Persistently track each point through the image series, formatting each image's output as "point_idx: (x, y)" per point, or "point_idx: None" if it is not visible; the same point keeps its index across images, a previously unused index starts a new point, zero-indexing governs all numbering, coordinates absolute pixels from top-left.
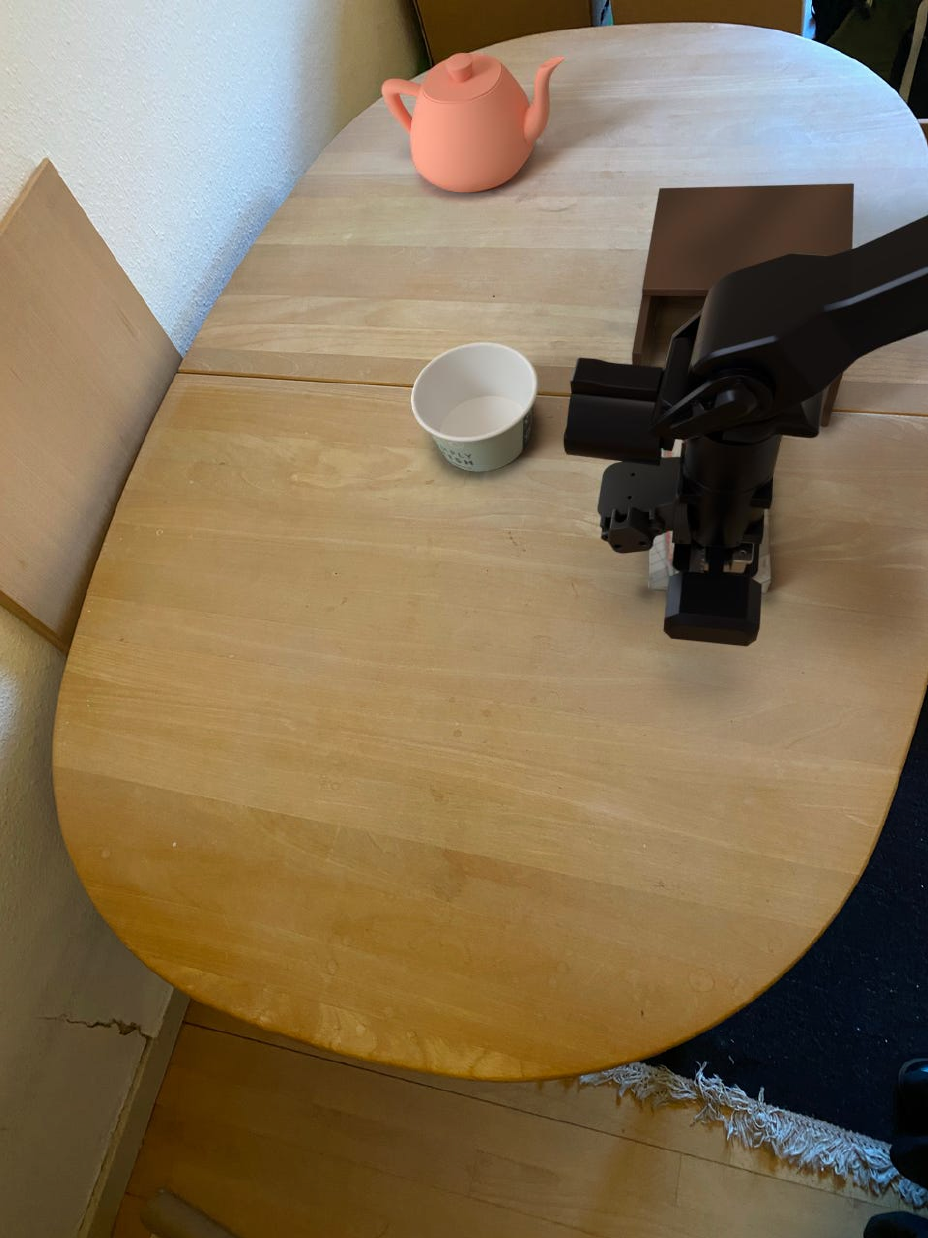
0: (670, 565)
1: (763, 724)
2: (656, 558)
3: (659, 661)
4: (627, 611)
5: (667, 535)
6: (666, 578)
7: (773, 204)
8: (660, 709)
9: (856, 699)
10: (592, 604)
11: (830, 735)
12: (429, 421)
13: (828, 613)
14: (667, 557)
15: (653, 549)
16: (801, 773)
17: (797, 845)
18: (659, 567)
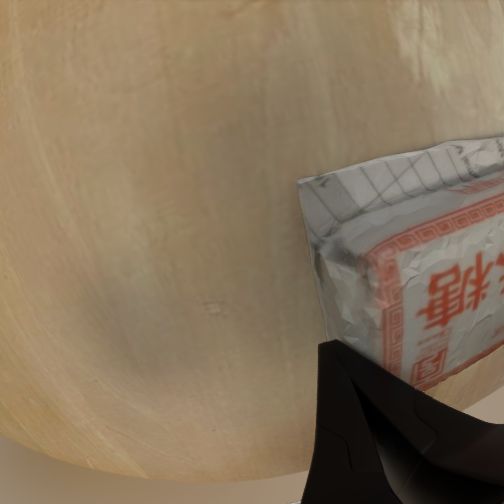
0: (361, 247)
1: (118, 410)
2: (380, 179)
3: (127, 256)
4: (224, 142)
5: (445, 223)
6: (331, 220)
7: None
8: (48, 287)
9: (205, 462)
10: (217, 54)
11: (150, 453)
12: None
13: (312, 426)
14: (384, 233)
15: (401, 166)
16: (93, 437)
17: (36, 432)
18: (358, 193)
